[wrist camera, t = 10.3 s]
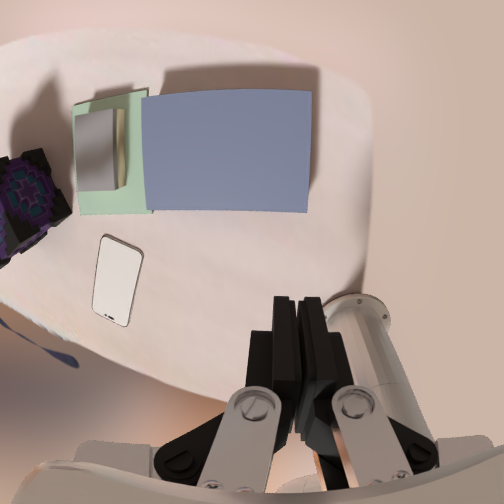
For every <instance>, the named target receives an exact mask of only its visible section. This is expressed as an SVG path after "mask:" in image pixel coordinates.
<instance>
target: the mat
mask: <svg viewBox="0 0 504 504" xmlns="http://www.w3.org/2000/svg"><path fill="white" fill-rule="evenodd" d="M143 97H148V90H143V91H138V92H132V93H127V94H122V95H117V96H112V97H108V98H103V99H99V100H95V101H91V102H87V103H83V104H80V105H76V106H73V107H72V137H73V154H74V167H75V177H76V186H77V176H76V161H75V116H77V115H81V114H86V113H91V112H96V111H102V110H108V109H125V113H124V150H125V177H126V186H124V187H121V188H119V189H117V190H115V191H85V192H78V187H77V194H78V202H79V208H80V215H111V214H152V213H153V210H147V209H146V199H145V187H144V173H143V156H142V129H141V98H143Z"/></svg>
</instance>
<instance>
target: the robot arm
mask: <svg viewBox="0 0 504 504" xmlns="http://www.w3.org/2000/svg"><path fill="white" fill-rule="evenodd" d="M389 328H390V315H389V312H388V310H387V308H386V306H385V305H384V303H383V302H382V301H380V300H379V299H378V298H376V297H373V296H371V295H368V294H349V295H345V296H342V297H339V298H337V299H335V300H333V301H331V302H330V303H328V304H327V305H326V306H324V307H322V303H321V299H320V297H305V298H304V301H299V302H298V311H297V317H296V308H295V301H294V300H289V296H274V303H273V320H272V331H254V330H252V331H251V338H250V348H249V357H248V366H247V375H246V384H245V387H244V388H242V389H240V390H238V391H236V392H235V393H234V394H233V395H232V396H231V398H230V400H229V402H228V405H227V407H226V410H225V412H223V413H221V414H220V415H218V416H217V417H215V418H213V419H211V420H209V421H208V422H206V423H204V424H202V425H201V426H199V427H197V428H195V429H194V430H192V431H190V432H188V433H186V434H184V435H182V436H180V437H179V438H176V439H174V440H172V441H170V442H169V443H167V444H165V445H163V446H162V447H151V446H150V445H149V444H148V445H147V444H146V445H145V444H127V443H114V442H104V441H96V440H93V441H87V442H84V443H82V444H81V445H80V446H79V447H78V448H77V451H76V453H75V458H74V461H71V460H55V461H48V462H43V463H41V464H39V465H37V466H36V467H34V468H33V469H32V470H31V471H30V472H29V473H28V474H27V476H26V477H25V479H24V480H23V482H22V483H21V485H20V486H19V488H18V490H17V492H16V494H15V495H14V498H13V500H12V502H11V504H504V445H500V446H497V447H493V444H492V441H491V440H490V439H489V438H488V437H486V436H484V435H475V436H466V437H456V438H439V439H437V440H436V441H435V440H434V438H433V437H432V434H431V433H430V430H429V429H428V427H427V424H426V422H425V420H424V417H423V415H422V413H421V410H420V408H419V405H418V403H417V401H416V398H415V396H414V393H413V391H412V388H411V386H410V383H409V381H408V378H407V376H406V374H405V371H404V369H403V367H402V364H401V362H400V360H399V357H398V355H397V353H396V351H395V348H394V346H393V344H392V342H391V340H390V338H389V336H388V331H389ZM294 420H295V433H301V441H305V444H306V445H307V446H308V447H310V448H311V449H312V450H313V457H314V461H315V465H316V469H317V474H313V475H308V476H304V477H301V478H297V479H294V480H291V481H289V482H287V483H285V484H283V485H282V486H281V487H280V488H279V489H278V490H277V491H276V493H265V490H266V486H267V482H268V477H269V473H270V469H271V464H272V460H273V455H274V453H276V452H277V451H278V450H280V449H281V448H282V447H283V446H285V445H286V441H287V437H288V433H291V430H292V425H293V421H294Z"/></svg>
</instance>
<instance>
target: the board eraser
mask: <svg viewBox="0 0 504 504" xmlns="http://www.w3.org/2000/svg"><path fill="white" fill-rule="evenodd" d="M124 113H125V109H108V110H102V111H96V112H91V113H86V114H81V115H77V116H75V161H76V176H77V187H78V192H85V191H115V190H117V189H119V188H121V187H124V186H126V177H125V150H124Z"/></svg>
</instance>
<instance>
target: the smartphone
mask: <svg viewBox="0 0 504 504" xmlns="http://www.w3.org/2000/svg"><path fill="white" fill-rule="evenodd" d="M143 258H144V256H143V253H142V252H141V251H140V250H139V249H137V248H134V247H132V246H130V245H128V244H126V243H123V242H121V241H119V240H117V239H115V238H112V237H110V236H108V235H105V236H103V237H102V238H101V241H100V247H99V253H98V259H97V266H96V273H95V281H94V289H93V299H92V309H93V311H94V312H95V313H97V314H98V315H100V316H102V317H104V318H106V319H108V320H110V321H112V322H114V323H116V324H118V325H120V326H123V327H127V326H128V324H129V322H130V318H131V313H132V308H133V303H134V298H135V293H136V289H137V284H138V280H139V275H140V271H141V267H142V263H143Z"/></svg>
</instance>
